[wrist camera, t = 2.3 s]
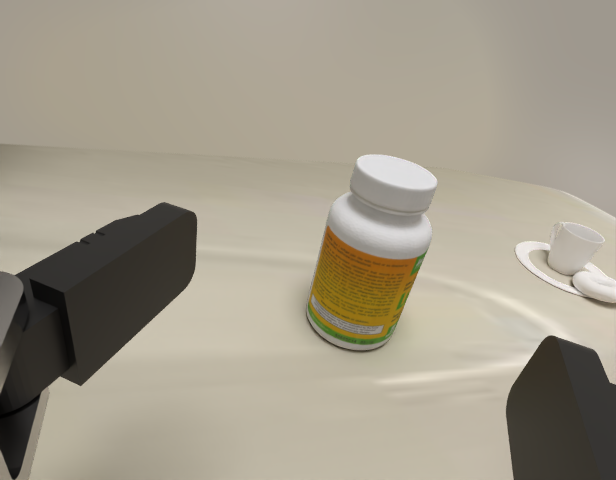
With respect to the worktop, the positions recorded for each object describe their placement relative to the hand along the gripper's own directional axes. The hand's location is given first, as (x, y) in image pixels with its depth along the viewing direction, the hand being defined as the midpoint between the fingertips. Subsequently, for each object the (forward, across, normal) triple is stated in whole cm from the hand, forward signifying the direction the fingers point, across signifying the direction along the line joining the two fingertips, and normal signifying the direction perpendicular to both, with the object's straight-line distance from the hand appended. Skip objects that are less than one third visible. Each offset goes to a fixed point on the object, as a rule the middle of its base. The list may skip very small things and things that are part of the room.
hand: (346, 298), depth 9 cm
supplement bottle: (+12, 0, +10) cm, 16 cm away
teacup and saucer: (+25, -14, +11) cm, 30 cm away
